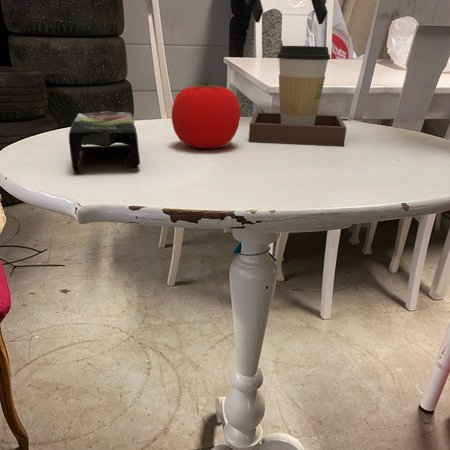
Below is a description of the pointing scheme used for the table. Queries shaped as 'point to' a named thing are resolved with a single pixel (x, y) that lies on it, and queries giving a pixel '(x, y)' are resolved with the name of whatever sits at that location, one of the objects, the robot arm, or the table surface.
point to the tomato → (205, 116)
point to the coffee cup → (301, 82)
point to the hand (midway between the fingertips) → (291, 17)
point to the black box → (104, 134)
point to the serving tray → (297, 130)
